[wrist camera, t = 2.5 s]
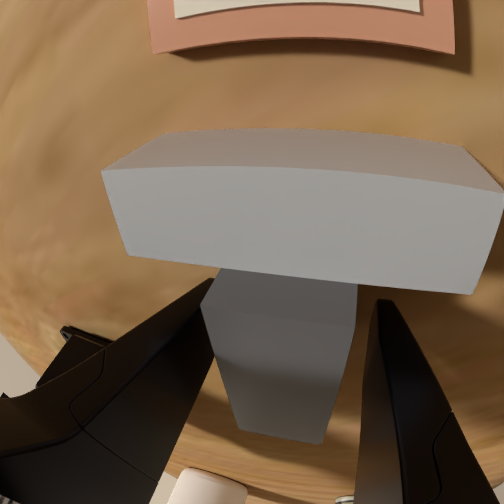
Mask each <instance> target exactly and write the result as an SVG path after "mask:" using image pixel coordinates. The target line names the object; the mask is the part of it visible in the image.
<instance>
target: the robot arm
mask: <svg viewBox="0 0 504 504" xmlns="http://www.w3.org/2000/svg"><path fill="white" fill-rule="evenodd" d="M214 280H215V278H208V279H207V280H205V281H204V282H202V283H201V284H199V285H198V286H196V287H195V288H193V289H192V290H190V291H189V292H187V293H186V294H184V295H183V296H181V297H180V298H178V299H177V300H175V301H174V302H172V303H171V304H169V305H168V306H166V307H165V308H163V309H162V310H160V311H159V312H157V313H156V314H154V315H153V316H151V317H150V318H148V319H147V320H145V321H144V322H142V323H141V324H139V325H138V326H136V327H135V328H133V329H132V330H130V331H129V332H127V333H126V334H124V335H123V336H121V337H120V338H118V339H117V340H116V341H114V342H113V343H111V344H110V343H108V342H105V341H102V340H100V339H97V338H94V337H92V336H89V335H87V334H84V333H81V332H79V331H77V330H74V329H72V328H69V327H67V326H63V327H62V329H61V330H60V333H61V335H62V336H63V338H64V339H65V340H66V342H67V343H66V344H65V345H64V347H63V348H62V349H61V351H60V352H59V353H58V355H57V356H56V357H55V359H54V360H53V361H52V363H51V364H50V365H49V367H48V368H47V370H46V371H45V372H44V374H43V375H42V377H41V378H40V380H39V381H38V382H37V384H36V389H34V390H32V391H30V392H28V393H26V394H24V395H21V396H17V397H13V398H9V397H8V396H7V395H6V394H5V393H3V394H2V395H1V397H0V504H149V502H150V500H151V498H152V496H153V494H154V491H155V489H156V487H157V485H158V481H159V480H160V478H161V476H162V473H163V471H164V469H165V467H166V465H167V462H168V460H169V458H170V456H171V454H172V451H173V449H174V447H175V445H176V442H177V440H178V438H179V436H180V434H181V431H182V429H183V427H184V425H185V422H186V420H187V418H188V416H189V414H190V411H191V409H192V407H193V405H194V402H195V400H196V398H197V396H198V393H199V391H200V389H201V387H202V384H203V382H204V380H205V378H206V375H207V373H208V371H209V369H210V366H211V364H212V362H213V359H214V356H215V355H214V351H213V348H212V345H211V341H210V338H209V335H208V331H207V328H206V324H205V321H204V317H203V314H202V310H201V307H200V304H201V302H202V301H203V299H204V297H205V295H206V294H207V292H208V290H209V288H210V287H211V285H212V283H213V281H214ZM451 411H452V409H451V407H450V405H449V402H448V400H447V398H446V396H445V394H444V392H443V390H442V388H441V386H440V384H439V382H438V380H437V378H436V376H435V374H434V373H433V371H432V369H431V367H430V365H429V363H428V361H427V359H426V357H425V356H424V354H423V352H422V350H421V348H420V346H419V345H418V343H417V341H416V339H415V337H414V336H413V334H412V332H411V330H410V329H409V327H408V325H407V323H406V322H405V320H404V318H403V317H402V315H401V313H400V312H399V310H398V308H397V307H396V305H395V303H394V302H393V301H392V300H389V299H377V300H376V302H375V305H374V309H373V313H372V317H371V321H370V326H369V334H368V343H367V352H366V360H365V368H364V375H363V387H362V412H361V430H360V444H359V456H358V466H357V476H356V484H355V492H354V500H353V504H500V503H499V501H498V499H497V497H496V495H495V493H494V491H493V489H492V487H491V486H490V484H489V482H488V480H487V478H486V476H485V474H484V472H483V471H482V469H481V467H480V465H479V463H478V462H477V460H476V458H475V456H474V454H473V452H472V450H471V448H470V446H469V445H468V443H467V440H466V438H465V436H464V434H463V432H462V430H461V428H460V426H459V424H458V421H457V419H456V417H455V415H454V413H453V412H451Z"/></svg>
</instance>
